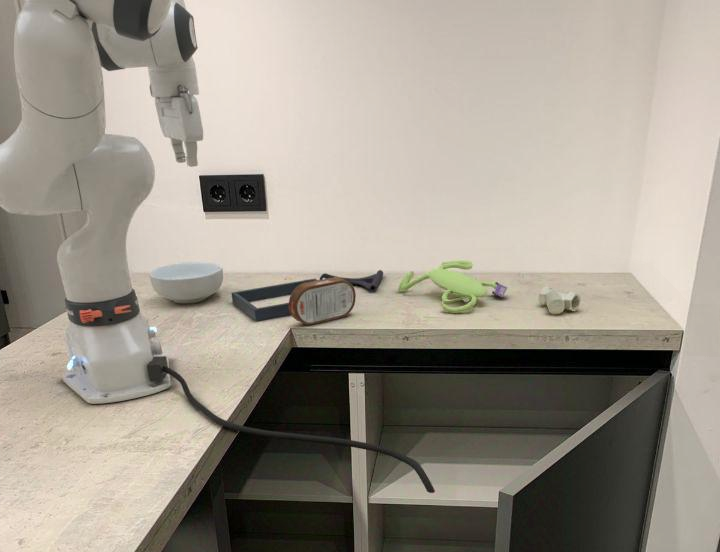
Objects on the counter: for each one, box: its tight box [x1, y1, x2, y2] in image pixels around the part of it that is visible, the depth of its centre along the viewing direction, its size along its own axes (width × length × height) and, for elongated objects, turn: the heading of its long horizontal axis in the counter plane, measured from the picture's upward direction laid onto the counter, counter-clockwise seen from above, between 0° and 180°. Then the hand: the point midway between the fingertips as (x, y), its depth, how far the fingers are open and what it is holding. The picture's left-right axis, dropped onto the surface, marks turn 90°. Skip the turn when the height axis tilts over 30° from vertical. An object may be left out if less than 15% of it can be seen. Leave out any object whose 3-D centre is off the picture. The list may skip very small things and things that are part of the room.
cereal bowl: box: [148, 261, 224, 304], centre depth 173 cm, size 17×17×7 cm
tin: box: [288, 276, 357, 325], centre depth 153 cm, size 15×3×8 cm, turn 122°
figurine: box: [397, 260, 508, 314], centre depth 165 cm, size 18×27×6 cm
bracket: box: [318, 269, 384, 293], centre depth 179 cm, size 14×15×3 cm
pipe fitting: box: [538, 286, 582, 315], centre depth 152 cm, size 8×4×7 cm
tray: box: [230, 278, 318, 322], centre depth 167 cm, size 17×21×2 cm
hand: (186, 164), depth 146 cm, fingers open, 8 cm apart
